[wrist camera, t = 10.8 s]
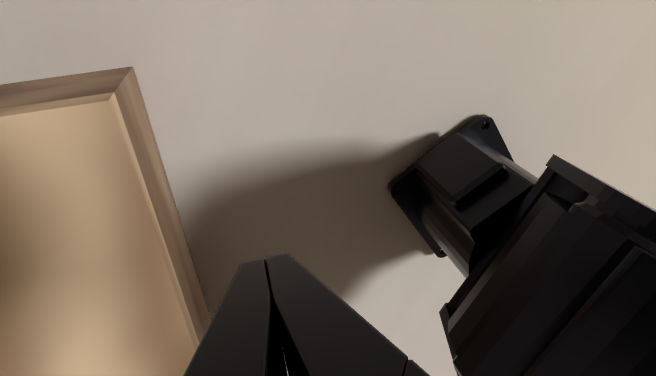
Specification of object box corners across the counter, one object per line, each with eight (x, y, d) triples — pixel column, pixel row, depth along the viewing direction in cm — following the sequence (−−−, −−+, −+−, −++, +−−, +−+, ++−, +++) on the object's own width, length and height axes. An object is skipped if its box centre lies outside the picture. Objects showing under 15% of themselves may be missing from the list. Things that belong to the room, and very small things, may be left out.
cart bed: (132, 66, 18) (108, 100, 13) (224, 363, 26) (227, 441, 22) (-246, 119, 15) (-422, 180, 11) (-10, 423, 24) (-57, 523, 20)
